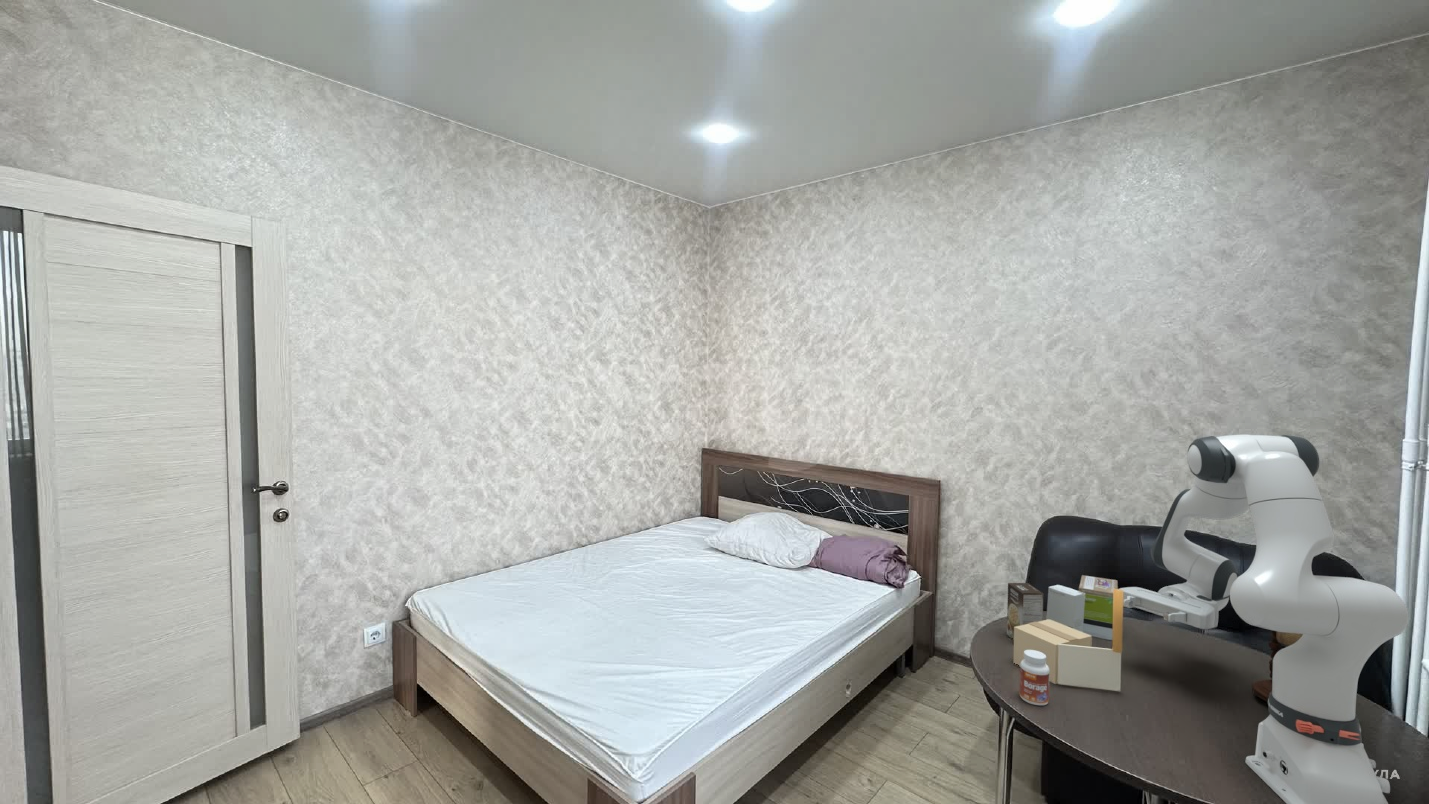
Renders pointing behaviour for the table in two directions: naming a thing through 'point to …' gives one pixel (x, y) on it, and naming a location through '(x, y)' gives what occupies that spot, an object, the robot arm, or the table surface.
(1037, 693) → the pill bottle
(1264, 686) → the scroll
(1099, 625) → the tea box
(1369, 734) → the table surface
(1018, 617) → the coffee box
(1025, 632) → the carton
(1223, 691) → the table surface
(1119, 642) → the cleaver with orange handle
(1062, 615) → the skincare box
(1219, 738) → the table surface
